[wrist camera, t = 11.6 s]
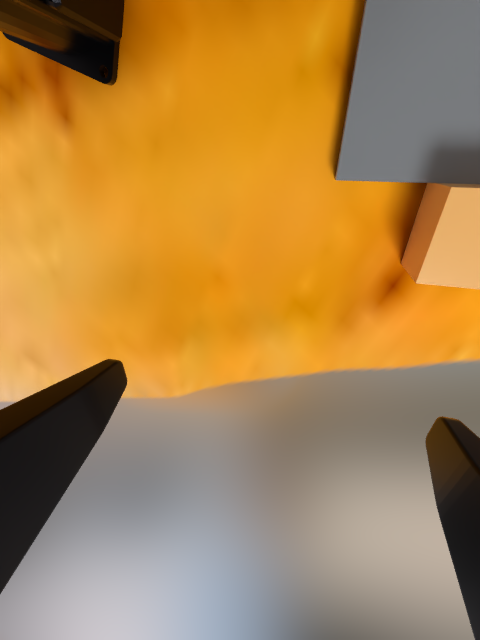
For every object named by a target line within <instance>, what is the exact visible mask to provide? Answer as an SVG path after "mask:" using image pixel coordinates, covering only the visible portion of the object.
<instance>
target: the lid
mask: <svg viewBox="0 0 480 640" xmlns="http://www.w3.org/2000/svg"><path fill="white" fill-rule="evenodd" d="M335 180H349V181H382V182H416V183H427V185H426V188H425V191H424V194H423V197H422V201H421V204H420V207H419V210H418V213H417V216H416V219H415V222H414V225H413V228H412V231H411V234H410V237H409V240H408V243H407V246H406V249H405V252H404V255H403V258H402V261H401V264H402V266H403V267H404V268H405V270H406V271H407V272H408V274H409V275H410V276H411V278H412V279H413V280H414V281H415V283H419V284H430V285H440V286H451V287H461V288H472V289H480V0H365V4H364V10H363V16H362V22H361V28H360V34H359V39H358V45H357V51H356V57H355V63H354V69H353V75H352V81H351V87H350V92H349V98H348V104H347V110H346V116H345V122H344V128H343V134H342V139H341V145H340V151H339V157H338V163H337V169H336V175H335Z"/></svg>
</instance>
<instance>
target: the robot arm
mask: <svg viewBox="0 0 480 640" xmlns="http://www.w3.org/2000/svg"><path fill="white" fill-rule="evenodd" d="M123 12H124V0H0V31H2V33H3V34H4V36H5V37H6V38H7V39H9V40H11V41H13V42H15V43H17V44H19V45H21V46H24V47H26V48H28V49H30V50H32V51H34V52H37V53H39V54H41V55H43V56H45V57H47V58H50V59H52V60H54V61H56V62H58V63H60V64H63V65H65V66H67V67H69V68H71V69H73V70H76V71H78V72H80V73H82V74H84V75H86V76H89V77H91V78H93V79H95V80H97V81H99V82H102V83H104V84H107V85H113V84H114V83H115V82H116V79H117V71H118V58H119V44H120V38H121V37H122V25H123ZM106 67H107V69H108V76H107V77H106V76H105V74H104V70H105V68H106ZM126 385H127V377H126V374H125V370H124V367H123V364H122V362H121V361H119V360H113V359H107V360H104V361H102V362H100V363H98V364H96V365H94V366H92V367H90V368H88V369H86V370H83V371H81V372H79V373H77V374H75V375H73V376H71V377H69V378H67V379H64V380H62V381H60V382H58V383H56V384H54V385H52V386H50V387H48V388H45V389H43V390H41V391H39V392H37V393H35V394H33V395H31V396H29V397H26V398H24V399H22V400H20V401H18V402H16V403H14V404H12V405H10V406H8V407H6V408H4V409H1V410H0V594H1V592H2V591H3V589H4V588H5V586H6V584H7V583H8V581H9V580H10V578H11V576H12V575H13V573H14V572H15V570H16V569H17V567H18V565H19V564H20V562H21V561H22V559H23V558H24V556H25V554H26V553H27V551H28V550H29V548H30V546H31V545H32V543H33V542H34V540H35V539H36V537H37V535H38V534H39V532H40V531H41V529H42V527H43V526H44V524H45V523H46V521H47V520H48V518H49V517H50V515H51V513H52V512H53V510H54V509H55V507H56V505H57V504H58V502H59V501H60V499H61V497H62V496H63V494H64V493H65V491H66V490H67V488H68V487H69V485H70V483H71V482H72V480H73V478H74V477H75V475H76V474H77V472H78V471H79V469H80V468H81V466H82V464H83V463H84V461H85V460H86V458H87V457H88V455H89V453H90V452H91V450H92V448H93V447H94V445H95V443H96V442H97V441H98V439H99V437H100V436H101V434H102V432H103V431H104V429H105V427H106V425H107V424H108V422H109V420H110V418H111V416H112V414H113V412H114V410H115V408H116V406H117V404H118V402H119V400H120V398H121V396H122V394H123V392H124V390H125V388H126ZM426 449H427V455H428V461H429V466H430V472H431V478H432V483H433V489H434V494H435V499H436V505H437V509H438V512H439V517H440V520H441V524H442V527H443V530H444V534H445V537H446V541H447V544H448V548H449V551H450V555H451V558H452V562H453V565H454V569H455V572H456V575H457V579H458V582H459V585H460V589H461V593H462V596H463V600H464V603H465V606H466V610H467V613H468V617H469V620H470V624H471V627H472V630H473V634H474V638H475V640H480V438H479V437H478V436H476V434H475V433H473V432H472V431H471V430H470V429H469V428H468V427H467V426H465V425H464V424H463V423H462V422H461V421H459V420H457V419H453V418H448V417H438V418H437V419H436V421H435V422H434V424H433V426H432V428H431V429H430V431H429V433H428V434H427V437H426Z"/></svg>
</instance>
